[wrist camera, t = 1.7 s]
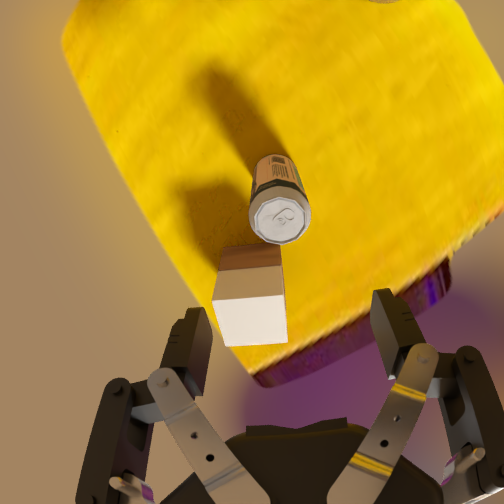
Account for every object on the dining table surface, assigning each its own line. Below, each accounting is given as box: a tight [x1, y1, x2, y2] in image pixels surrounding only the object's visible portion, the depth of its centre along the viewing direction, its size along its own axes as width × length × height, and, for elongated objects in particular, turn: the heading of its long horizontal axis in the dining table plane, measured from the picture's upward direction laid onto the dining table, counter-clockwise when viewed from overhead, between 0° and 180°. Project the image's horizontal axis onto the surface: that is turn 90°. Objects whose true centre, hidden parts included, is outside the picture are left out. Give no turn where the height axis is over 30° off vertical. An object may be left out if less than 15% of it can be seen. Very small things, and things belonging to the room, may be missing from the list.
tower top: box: [212, 265, 288, 346], centre depth 32 cm, size 7×7×5 cm
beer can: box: [249, 154, 311, 245], centre depth 27 cm, size 5×5×12 cm
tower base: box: [218, 243, 286, 309], centre depth 37 cm, size 7×7×5 cm
